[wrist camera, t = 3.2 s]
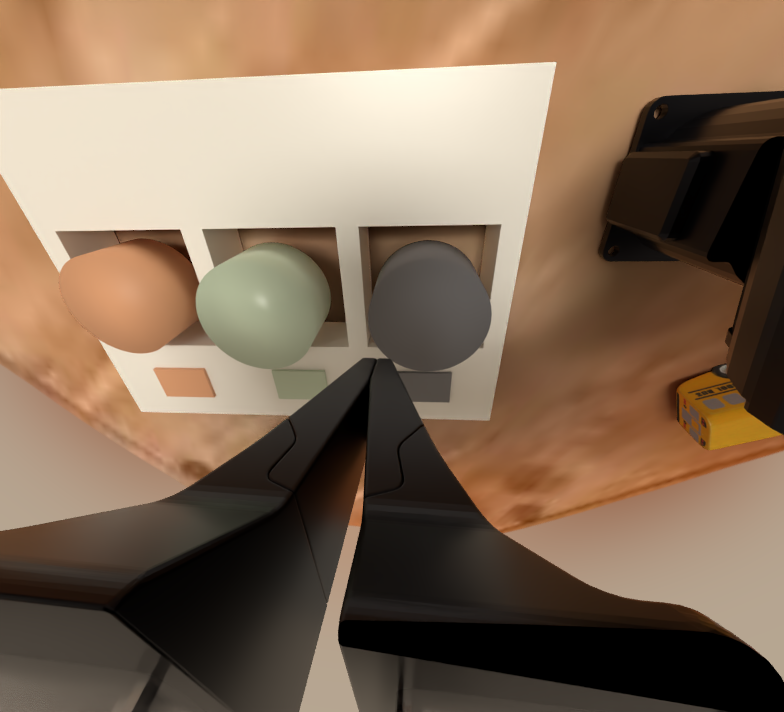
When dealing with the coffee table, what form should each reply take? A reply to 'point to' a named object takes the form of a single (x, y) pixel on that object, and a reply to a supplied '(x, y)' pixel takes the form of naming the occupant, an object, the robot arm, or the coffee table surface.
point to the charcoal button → (429, 307)
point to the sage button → (264, 305)
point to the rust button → (131, 294)
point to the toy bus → (717, 412)
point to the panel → (286, 200)
